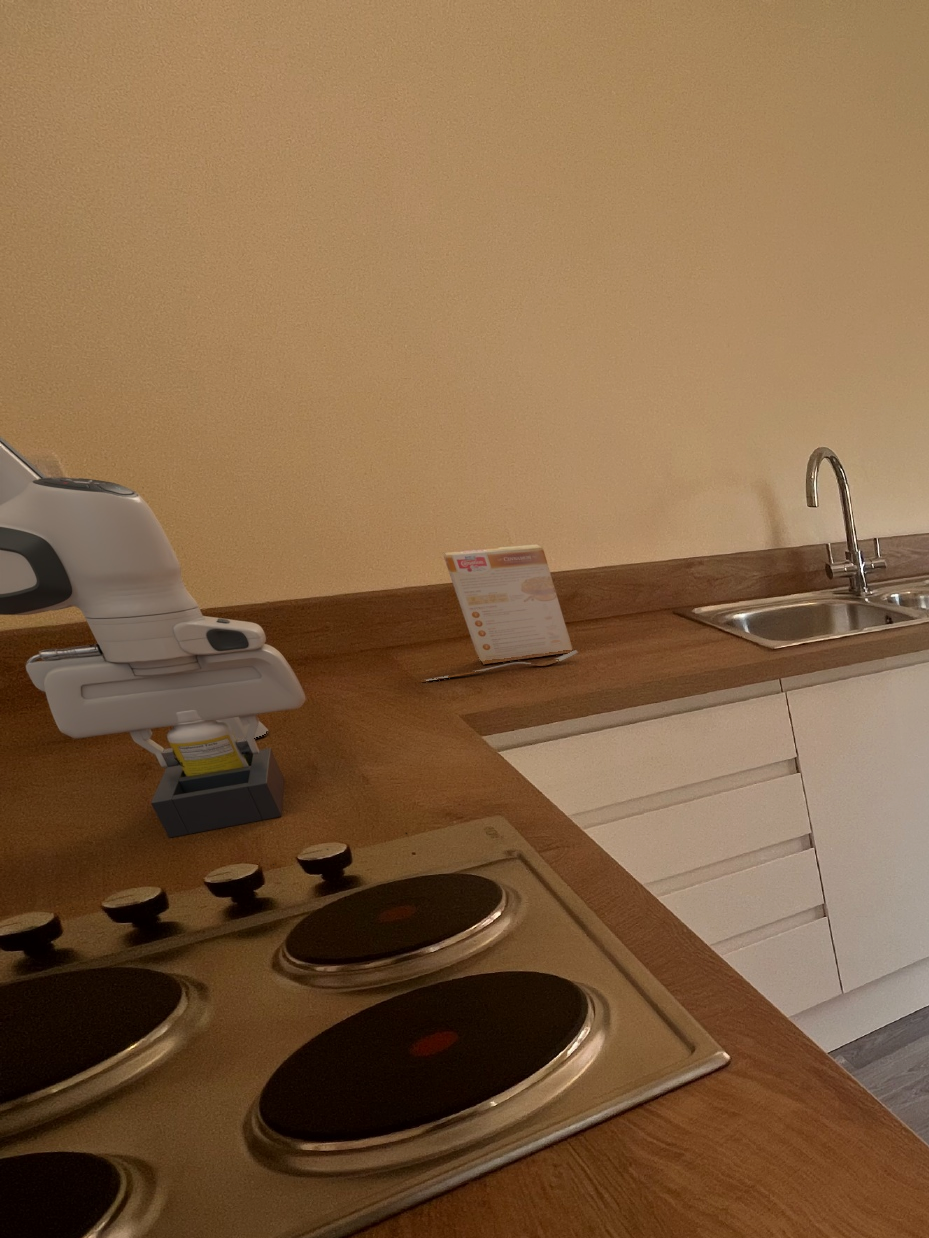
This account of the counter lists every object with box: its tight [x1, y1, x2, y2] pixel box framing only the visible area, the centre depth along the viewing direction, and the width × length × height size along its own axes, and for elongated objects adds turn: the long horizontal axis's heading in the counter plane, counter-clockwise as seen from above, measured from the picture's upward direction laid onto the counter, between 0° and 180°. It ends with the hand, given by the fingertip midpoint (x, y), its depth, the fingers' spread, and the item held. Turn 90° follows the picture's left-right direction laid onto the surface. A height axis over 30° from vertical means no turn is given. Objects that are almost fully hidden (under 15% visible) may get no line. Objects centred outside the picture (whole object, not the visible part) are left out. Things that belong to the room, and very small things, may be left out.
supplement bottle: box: [166, 710, 249, 777], centre depth 109 cm, size 5×5×10 cm
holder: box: [150, 747, 285, 839], centre depth 108 cm, size 9×17×4 cm, turn 40°
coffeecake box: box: [442, 543, 574, 661], centre depth 176 cm, size 15×7×20 cm, turn 130°
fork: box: [425, 649, 579, 681], centre depth 169 cm, size 3×24×2 cm, turn 131°
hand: (212, 759), depth 110 cm, fingers closed on supplement bottle, 5 cm apart
